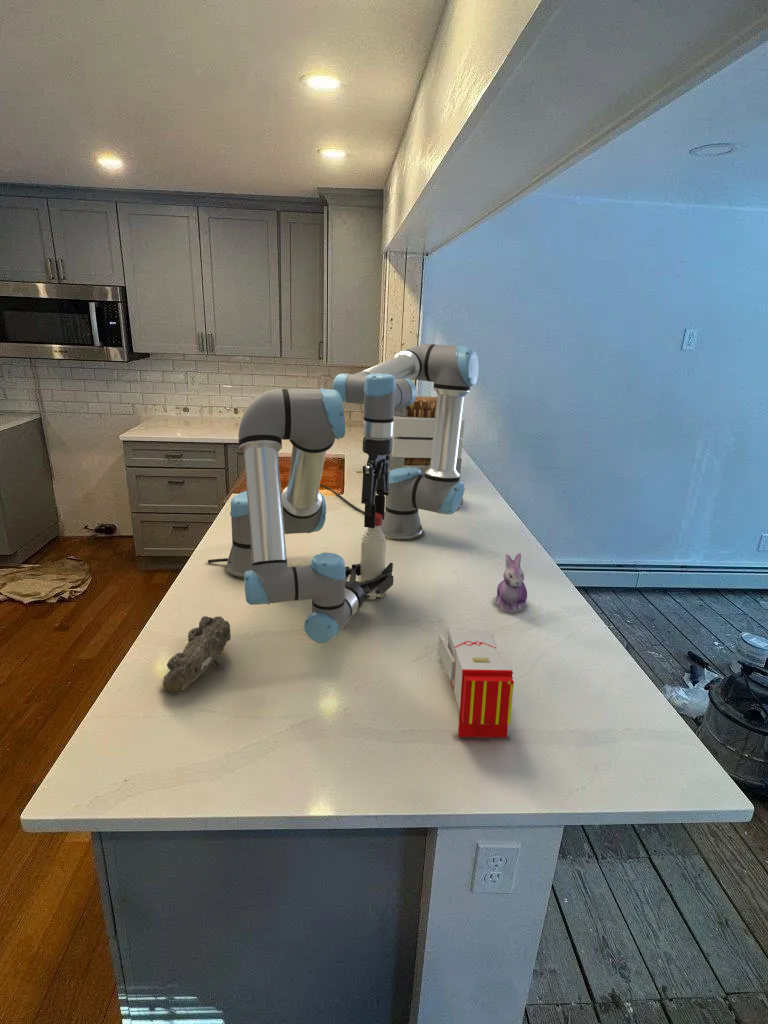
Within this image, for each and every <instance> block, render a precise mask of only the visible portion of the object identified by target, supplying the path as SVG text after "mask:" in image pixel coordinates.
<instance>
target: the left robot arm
mask: <svg viewBox="0 0 768 1024" xmlns="http://www.w3.org/2000/svg"><path fill="white" fill-rule="evenodd" d="M343 403H344V402H343V401H342V399H341V396H340V394H339V392H338V391H336V390H333V388H332V389H329V388H323V387H321V388H272V389H268V390H265V391H264V392H261V393H260V394H259V395H257V396H256V397H255V398H254V399H253V400H252V401H251V403H249V405H248V407H247V408H246V410H245V412H244V414H243V416H242V418H241V421H240V423H239V428H238V449H239V451H240V452H241V453H242V454H243V457H244V472H245V485H246V490H245V491H242V492H239V493H238V494H236V495H234V496H233V498H232V499H231V501H230V511H229V516H230V517H231V518H230V521H231V541H232V544H231V548H230V551H229V555H228V557H226V558H225V557H224V558H214V559H212V558H211V559H208V560H207V563H208V564H211V563H223V562H226V570H227V572H228V574H230V575H231V576H233V577H236V578H239V579H243V582H244V596H245V601H246V603H247V604H248V605H251V606H257V605H270V604H271V605H272V604H278V603H287V602H297V601H307V600H308V601H310V600H311V612H310V613H309V614H308V616H307V617H306V619H305V620H304V623H303V629H304V632H305V634H306V636H307V637H308V639H310V640H311V641H312V642H314V643H316V644H323V645H324V644H328V643H329V642H331V641H332V640H333V639H334V638H336V636H338V635H339V633H340V632H341V631H342V630H343V628H344V627H345V626H346V625H347V624H348V622H349V621H350V619H351V618H353V616H354V615H355V614H356V613H357V611H358V610H359V609H360V608H361V607H363V604H364V603H365V601H366V600H368V599H367V598H369V597H370V596H375V597H376V599H375V600H381V599H382V597H383V596H384V595H383V594H385V593H386V592H387V591H388V590H390V589H391V588H392V586H394V578H395V577H394V575H393V570H394V563H393V562H389V563H388V565H387V566H385V569H384V570H383V571H382V575H380V576H378V577H376V578H374V579H372V580H366V581H364V582H360V580H356V578H357V577H360V565H361V562H360V563H356V564H354V563H353V564H351V568H350V566H346V562H345V559H344V558H343V557H342V556H341V555H339V554H337V553H334V552H321V553H320V554H319V553H318V554H315V555H314V556H313V557H312V558H311V561H310V562H311V563H310V564H309V565H308V564H307V565H300V566H299V565H298V566H297V565H296V566H288V559H287V558H288V557H287V546H286V535H294V534H312V533H316V532H319V531H321V530H322V529H323V528H324V525H325V523H326V518H327V517H326V514H327V503H326V499H325V496H324V495H323V494H322V493H321V492H320V487H321V486H320V485H321V481H322V474H323V470H324V464H325V459H326V455H327V451H329V450H330V449H331V448H332V447H333V445H334V444H335V441H336V440H340V439H343V438H344V437H345V435H346V418H345V409H344V404H343ZM282 440H284V441H285V440H287V441H289V442H290V444H291V445H292V449H291V458H290V465H289V472H288V482H287V486H286V487H285V488H284V489H283V491H282V484H281V483H282V482H281V471H280V460H279V459H280V458H279V452H280V451H281V450H282V449H283V441H282ZM348 578H349V580H347V579H348ZM374 589H375V590H374ZM372 590H373V591H372ZM382 595H383V596H382ZM381 596H382V597H381Z"/></svg>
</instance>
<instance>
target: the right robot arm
mask: <svg viewBox="0 0 768 1024" xmlns="http://www.w3.org/2000/svg"><path fill="white" fill-rule="evenodd" d="M478 378H479V358H478V355H477V353H476V351H475V350H474V349H473V348H472V347H470V346H463V345H451V344H450V345H449V344H436V343H435V344H434V343H425V344H424V343H423V344H419V345H415V346H412V347H409V348H406V349H403V350H400V351H399V352H397V353H396V354H395V355H394V357H392V358H390V359H388V360H385V361H383V362H380V363H378V364H375V365H373V366H371V367H369V368H366V369H364V370H361V371H359V372H355V373H353V374H351V373H348V372H347V373H339V374H337V375H336V376H335V378H334V380H333V382H332V390H336V391H338V392H339V394H340V396H341V399H342V403H346V404H355V405H356V404H357V405H363V422H361V426H362V427H363V428H362V429H363V431H362V435H363V436H364V437H363V438H362V452H363V453H364V454H366V455H368V457H367V461H366V465H365V464H363V465H362V485H361V501H360V504H364V510H362V509H360V508H359V507H357V506H356V505H354V504H353V503H351V502H349V501H348V500H347V499H345V498H344V497H343V496H342V495H341V494H339V493H337V492H336V491H335V490H333V489H332V488H329V487H328V486H326V485H324V484H321V483H320V486H319V487H321V488H324V489H326V490H328V491H330V492H332V493H333V494H335V495H336V496H337V497H339V498H340V499H341V500H342V501H344V502H345V503H346V504H347V505H349V506H350V507H351V508H353V509H355V510H356V511H358V512H360V513H362V514H363V515H364V518H363V519H364V521H363V527H364V528H367V529H368V528H375V513H380V514H382V525H380V528H381V530H382V532H383V533H384V535H385V538H386V539H389V540H395V541H410V540H415V539H418V538H420V537H421V536H422V535H423V525H422V524H421V518H420V515H419V510H421V511H427V512H432V513H437V514H439V515H442V514H443V515H453V514H454V513H456V512H457V510H458V509H459V508H460V506H461V505H460V503H461V501H462V498H463V499H464V494H465V489H466V487H465V483H464V482H463V481H462V480H460V481H459V478H460V479H461V474H459V473H458V472H457V471H456V464H457V455H458V447H459V438H460V429H461V421H462V419H463V410H464V403H465V397H466V396H467V394H469V393H470V392H471V387H474V386H475V385H476V384H477V382H478ZM414 381H423V382H431V383H433V390H434V391H435V392H436V397H437V404H436V414H435V424H434V433H433V443H432V453H431V463H430V466H429V467H428V468H427V469H426V470H424V474H422V470H421V468H419V467H415V466H411V467H410V466H406V467H405V466H404V468H397V469H393V470H391V471H390V467H389V461H390V456H388V454H390V453H391V452H392V442H393V440H392V438H391V437H392V436H393V424H394V421H393V420H394V410H396V409H400V408H404V407H407V406H409V405H411V404H412V403H413V402H414V401H415V399H416V397H417V396H418V389H417V386H416V384H415V383H414ZM460 439H461V438H460ZM458 507H459V508H458Z"/></svg>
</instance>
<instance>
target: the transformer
mask: <svg viewBox="0 0 768 1024" xmlns="http://www.w3.org/2000/svg"><path fill="white" fill-rule="evenodd" d="M436 404H437V396H418V395H417V396H416V399H415V401H414V402H413V403H412V404H411V405H409V406H407V407H404V408H400V409H396V410H394V420H393V421H394V424H393V436H392V437H391V438H392V440H393V442H392V452H391V453H390V454H388V456H390V461H389V472H390V471H391V470H393V469H397V468H404V467H405V466H406V467H410V466H411V467H417V466H418V467H430V463H431V453H432V443H433V433H434V424H435V414H436ZM464 429H465V419H464V418H462V421H461V429H460V438H459V447H458V455H457V464H456V471H457V472H458V473H459V474H460V475H461V472H462V461H463V460H462V453H463V442H464V441H463V440H462V439H463V438H464V431H465V430H464ZM459 481H461V477H460V478H459Z"/></svg>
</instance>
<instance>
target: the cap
mask: <svg viewBox="0 0 768 1024" xmlns="http://www.w3.org/2000/svg"><path fill="white" fill-rule="evenodd" d="M380 525H382V514H380V513H375V526H380Z"/></svg>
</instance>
